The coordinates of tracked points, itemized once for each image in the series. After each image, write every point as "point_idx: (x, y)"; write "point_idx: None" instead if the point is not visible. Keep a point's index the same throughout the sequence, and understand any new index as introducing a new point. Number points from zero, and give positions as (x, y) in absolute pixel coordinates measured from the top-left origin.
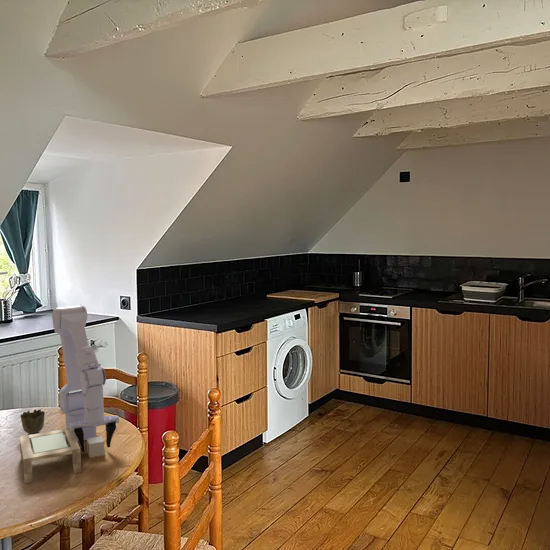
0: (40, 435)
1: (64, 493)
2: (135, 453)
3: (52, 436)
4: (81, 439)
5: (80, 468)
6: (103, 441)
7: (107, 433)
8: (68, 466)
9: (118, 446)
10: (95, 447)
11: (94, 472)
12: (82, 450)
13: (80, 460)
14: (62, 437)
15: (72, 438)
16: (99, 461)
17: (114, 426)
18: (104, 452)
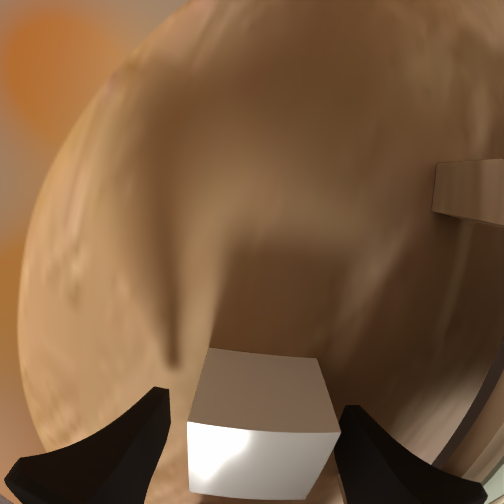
0: (501, 498)
1: (498, 25)
2: (34, 242)
3: (495, 492)
4: (413, 469)
5: (455, 163)
6: (194, 422)
7: (133, 482)
8: (458, 298)
9: (108, 399)
10: (276, 401)
11: (368, 94)
12: (364, 411)
13: (494, 160)
14: (491, 481)
15: (483, 464)
16: (279, 260)
17: (13, 483)
18: (206, 358)
